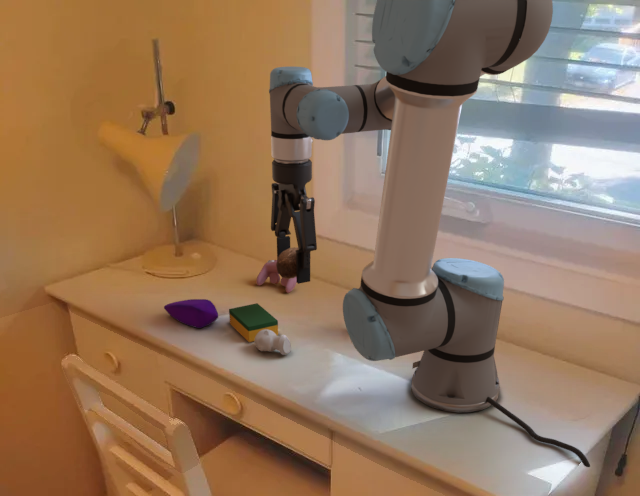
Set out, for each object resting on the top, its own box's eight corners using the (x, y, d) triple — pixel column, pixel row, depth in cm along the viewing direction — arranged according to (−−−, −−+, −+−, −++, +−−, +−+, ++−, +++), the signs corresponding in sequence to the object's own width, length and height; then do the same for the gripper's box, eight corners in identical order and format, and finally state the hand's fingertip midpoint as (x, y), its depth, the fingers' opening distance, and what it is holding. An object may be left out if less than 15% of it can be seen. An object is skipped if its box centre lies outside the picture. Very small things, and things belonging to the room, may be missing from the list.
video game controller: (298, 295, 167) (305, 265, 165) (288, 292, 162) (295, 262, 161) (263, 286, 171) (270, 257, 170) (253, 284, 167) (260, 254, 166)
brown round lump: (321, 254, 147) (304, 233, 143) (318, 281, 143) (300, 260, 138) (290, 268, 151) (272, 247, 147) (285, 294, 146) (267, 274, 142)
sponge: (278, 335, 145) (277, 320, 143) (249, 342, 142) (248, 327, 140) (258, 317, 152) (257, 303, 150) (229, 323, 150) (228, 308, 148)
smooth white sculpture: (251, 353, 141) (269, 338, 143) (278, 365, 136) (297, 350, 138) (245, 336, 138) (263, 321, 140) (272, 348, 133) (291, 333, 135)
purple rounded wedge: (169, 292, 154) (223, 300, 146) (173, 314, 156) (227, 323, 149) (154, 300, 150) (208, 308, 143) (158, 321, 153) (212, 331, 145)
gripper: (337, 169, 127) (334, 288, 140) (285, 146, 142) (287, 255, 155) (299, 174, 124) (300, 295, 137) (250, 150, 139) (255, 261, 152)
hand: (293, 274), depth 146 cm, fingers closed on brown round lump, 8 cm apart
